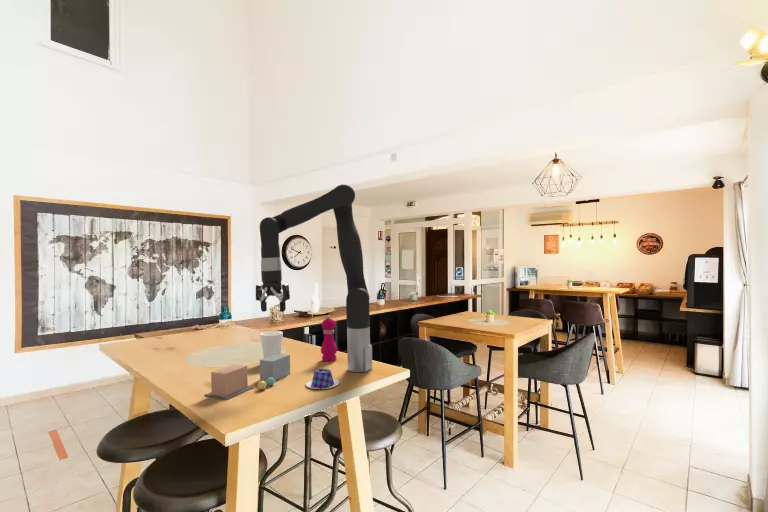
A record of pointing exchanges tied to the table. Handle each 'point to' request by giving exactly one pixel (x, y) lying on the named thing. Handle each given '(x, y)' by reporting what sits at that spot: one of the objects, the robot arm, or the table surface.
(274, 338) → the foam cup
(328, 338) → the pepper mill
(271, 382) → the marble
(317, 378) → the pudding
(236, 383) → the cover terracotta
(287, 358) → the plate
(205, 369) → the table surface
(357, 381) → the table surface
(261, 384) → the marble
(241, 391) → the mat
